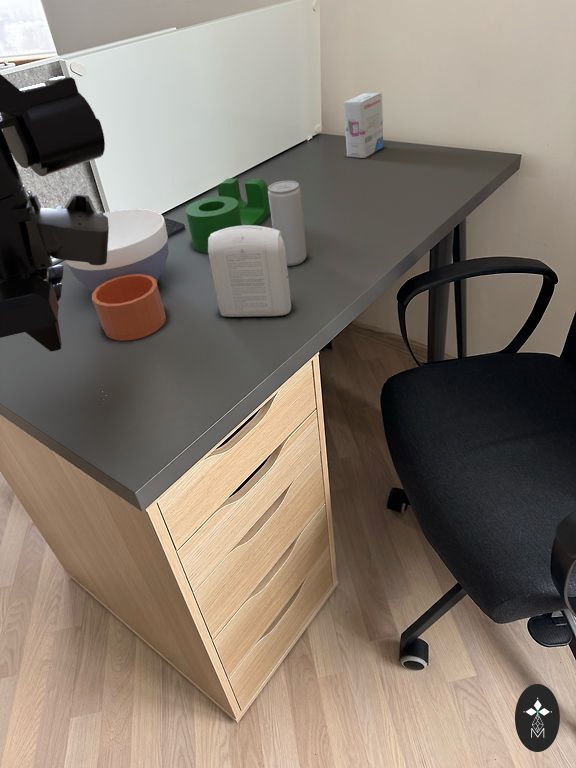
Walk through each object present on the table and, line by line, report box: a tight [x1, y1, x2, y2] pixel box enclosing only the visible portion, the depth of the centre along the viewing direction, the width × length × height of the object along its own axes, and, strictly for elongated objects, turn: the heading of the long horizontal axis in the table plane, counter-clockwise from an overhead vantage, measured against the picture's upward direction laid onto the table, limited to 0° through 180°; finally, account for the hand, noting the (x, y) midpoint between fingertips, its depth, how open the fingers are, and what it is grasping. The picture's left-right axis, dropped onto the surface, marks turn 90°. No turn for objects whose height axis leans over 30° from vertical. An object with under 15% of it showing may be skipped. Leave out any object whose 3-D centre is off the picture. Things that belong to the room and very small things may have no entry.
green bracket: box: [185, 177, 271, 254], centre depth 102 cm, size 18×9×6 cm, turn 160°
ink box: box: [343, 92, 384, 159], centre depth 128 cm, size 9×5×12 cm, turn 141°
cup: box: [91, 274, 167, 342], centre depth 79 cm, size 9×9×6 cm
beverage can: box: [267, 180, 307, 267], centre depth 88 cm, size 5×5×12 cm
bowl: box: [64, 208, 169, 292], centre depth 87 cm, size 16×16×10 cm
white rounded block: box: [207, 225, 292, 318], centre depth 76 cm, size 10×4×12 cm, turn 83°
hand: (56, 348), depth 57 cm, fingers closed
